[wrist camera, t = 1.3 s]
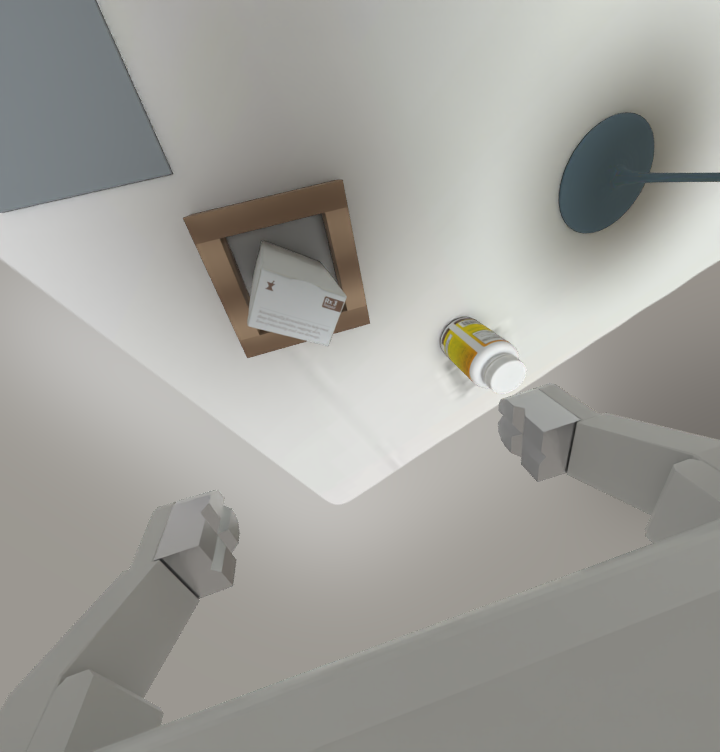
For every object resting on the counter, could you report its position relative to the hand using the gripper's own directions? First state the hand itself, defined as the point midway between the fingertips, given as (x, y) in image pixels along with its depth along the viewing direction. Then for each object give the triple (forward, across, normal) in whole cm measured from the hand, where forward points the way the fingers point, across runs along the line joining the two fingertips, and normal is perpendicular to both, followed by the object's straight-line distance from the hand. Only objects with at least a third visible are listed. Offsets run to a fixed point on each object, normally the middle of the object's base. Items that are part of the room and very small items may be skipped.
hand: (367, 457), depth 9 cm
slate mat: (+26, +14, -17) cm, 34 cm away
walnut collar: (+27, +2, 0) cm, 27 cm away
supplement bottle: (+28, -16, +12) cm, 35 cm away
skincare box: (+27, +2, 0) cm, 27 cm away
